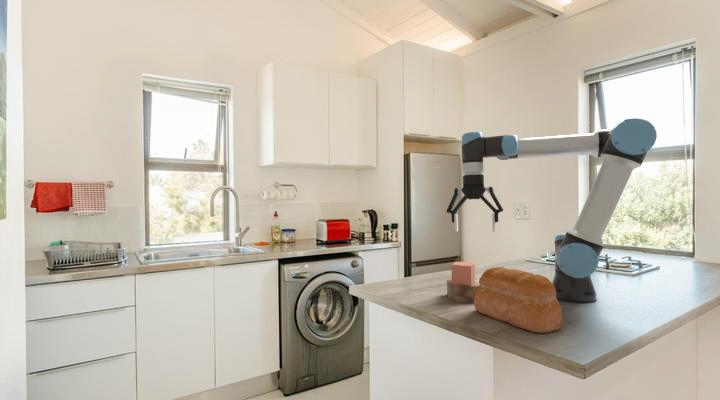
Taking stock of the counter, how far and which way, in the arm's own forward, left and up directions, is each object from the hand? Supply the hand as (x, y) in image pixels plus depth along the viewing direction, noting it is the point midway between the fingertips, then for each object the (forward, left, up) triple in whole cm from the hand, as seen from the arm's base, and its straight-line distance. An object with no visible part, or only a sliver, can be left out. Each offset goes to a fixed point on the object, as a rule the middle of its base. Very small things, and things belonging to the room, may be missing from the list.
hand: (475, 231), depth 146 cm
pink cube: (+4, +4, -19) cm, 19 cm away
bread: (-16, +21, -25) cm, 36 cm away
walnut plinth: (+4, +4, -25) cm, 25 cm away
